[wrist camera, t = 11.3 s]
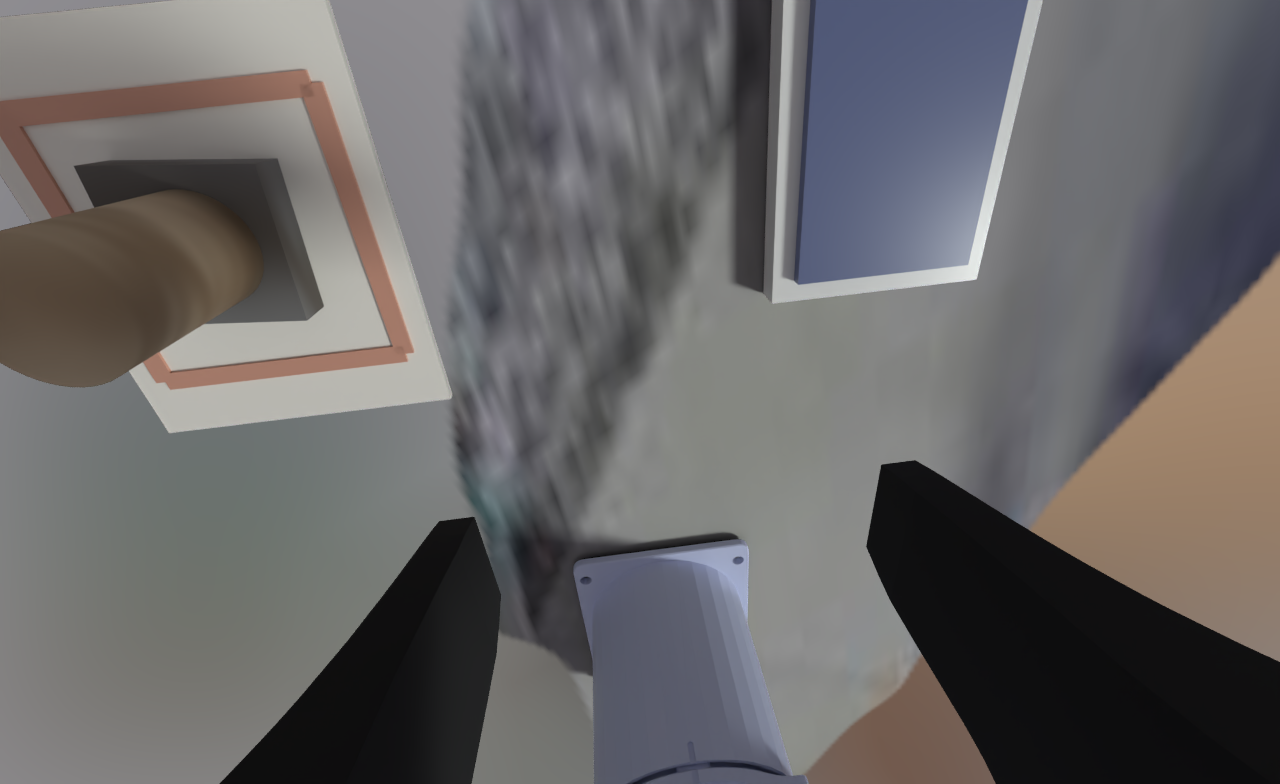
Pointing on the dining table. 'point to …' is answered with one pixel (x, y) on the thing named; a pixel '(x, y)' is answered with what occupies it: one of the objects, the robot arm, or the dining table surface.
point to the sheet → (231, 129)
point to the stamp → (150, 266)
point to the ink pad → (887, 139)
